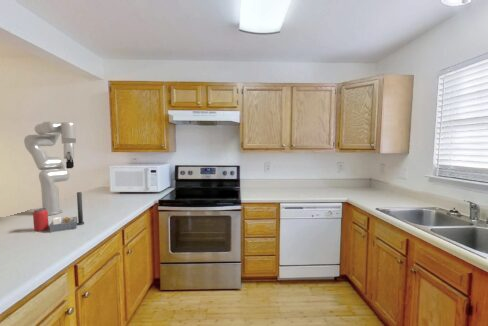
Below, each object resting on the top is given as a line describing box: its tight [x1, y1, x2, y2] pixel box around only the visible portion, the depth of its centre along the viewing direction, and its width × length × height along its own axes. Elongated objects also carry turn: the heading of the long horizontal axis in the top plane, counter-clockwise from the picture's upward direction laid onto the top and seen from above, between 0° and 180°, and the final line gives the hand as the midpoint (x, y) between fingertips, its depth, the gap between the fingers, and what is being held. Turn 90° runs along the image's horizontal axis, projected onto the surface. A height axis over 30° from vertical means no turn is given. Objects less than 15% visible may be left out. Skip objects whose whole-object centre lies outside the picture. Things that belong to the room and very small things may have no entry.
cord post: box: [76, 191, 85, 226], centre depth 151 cm, size 4×4×20 cm
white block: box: [52, 216, 62, 225], centre depth 141 cm, size 4×3×3 cm
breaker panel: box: [49, 215, 78, 233], centre depth 146 cm, size 12×12×6 cm
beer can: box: [32, 207, 50, 232], centre depth 141 cm, size 7×7×12 cm
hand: (70, 167), depth 159 cm, fingers open, 9 cm apart
